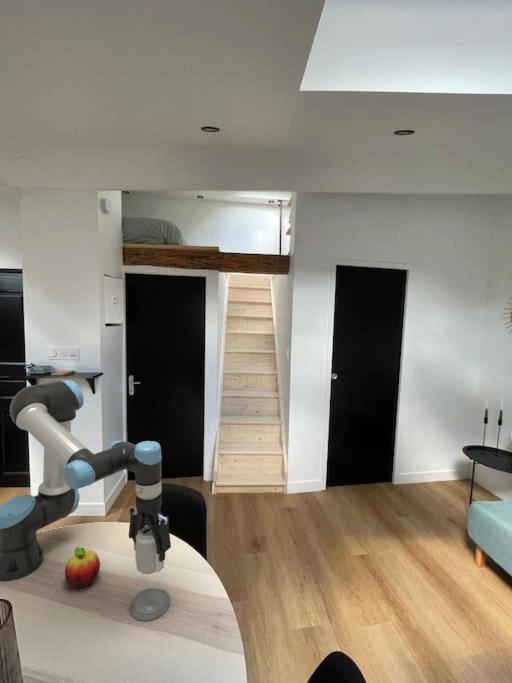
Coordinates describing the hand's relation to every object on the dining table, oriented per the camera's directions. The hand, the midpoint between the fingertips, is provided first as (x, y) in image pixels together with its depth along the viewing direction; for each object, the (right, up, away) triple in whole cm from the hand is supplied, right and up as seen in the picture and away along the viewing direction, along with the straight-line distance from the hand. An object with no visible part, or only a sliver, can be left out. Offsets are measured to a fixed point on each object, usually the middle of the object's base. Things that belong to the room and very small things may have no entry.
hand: (149, 565), depth 115 cm
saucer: (0, -13, +1) cm, 13 cm away
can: (0, -1, 0) cm, 1 cm away
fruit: (-26, -12, +11) cm, 30 cm away
